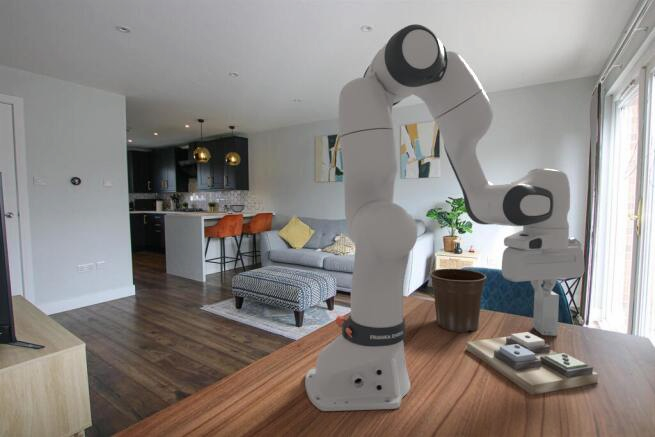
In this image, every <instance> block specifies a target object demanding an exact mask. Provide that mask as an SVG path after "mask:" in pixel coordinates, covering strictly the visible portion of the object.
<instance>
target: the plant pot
mask: <svg viewBox="0 0 655 437" xmlns="http://www.w3.org/2000/svg"><path fill="white" fill-rule="evenodd" d="M429 276H430V277H431V278H430V279H431V286H432V287H433V297H434V307H435V316H436V317H435V319H436V324H437V325H438V326H440V327H441V328H442V329H445V330H448V331H452V332H457V333H458V332H459V333H460V332H461V333H467V332H468V331H470V332H474V331H476V330H478V328H479V325H480V314H481V305H482V303H481V302H482V297H483V296H482V295H483V291H484V287H485V281H486V280H487V275H486V274H484V273H483V272H480V271H476V270H471V269H464V268H463V269H462V268H438V269H433V270H431V271H429Z"/></svg>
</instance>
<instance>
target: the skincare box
mask: <svg viewBox="0 0 655 437" xmlns="http://www.w3.org/2000/svg"><path fill="white" fill-rule="evenodd" d="M533 297H534V298H533V299H534V300H533V321H532V322H533V323H532V325H533V326H532V327H533V328H534V329H535V330H536V331H537V332H538V333H540V335H542V336H551V337H552V336H553V337H557V336H558V333H559V332H558V331H559V330H558V327H559V326H558V325H559V303H560V302H559V300H560V295H559V294H558V293H556V292H554V291H553V290H552V291H551V297H550V298H537V297H535V292H534V295H533Z"/></svg>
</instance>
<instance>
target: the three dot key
mask: <svg viewBox="0 0 655 437" xmlns="http://www.w3.org/2000/svg"><path fill="white" fill-rule="evenodd" d="M560 353H561V354H555V355H548V356H546V358H547V359H549V360H551V361H552V362H554V363H556V364H558V365H560V366H562V367H564V368H565V369H567V370H569V369H575V368H581V367H586V364H587V363H585V362H583V361H581V360H579V359H578V358H576V357H573V356H571V355H569V354H568V353H565V352H560Z"/></svg>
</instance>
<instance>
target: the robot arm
mask: <svg viewBox="0 0 655 437" xmlns="http://www.w3.org/2000/svg"><path fill="white" fill-rule="evenodd" d="M411 96H415V97H418V98H419V99H420V100H422V101H423V102H424V104H425V105H426V106H427V108H428V111H429V113H430V114H431V117H432V118H433V120H434V122H435V123H436V126H437V128H438V130H439V132H440V135H441V138H442V141H443V145H444V150H445V154H446V157H447V159H448V162H449V164H450V166H451V168H452V169H451V170H453V173H454V175H455V178H456V181H457V183H458V184H459V187H460V189H461V191H462V195H463V201H464V208H465V211H466V214H467V216H468V217H469V218H470V219H471V221H473V222H474V223H475V224H479V225H496V226H506V227H507V226H508V227H522V230H520V231H517V232H516V233H514V234H511V235H508V236H506V237H504V239H503V245H504V246H505V249H504V250H503V252H502V258H501V275H502V276H503V278H504V279H505V280H508V281H511V282H514V283H517V282H518V283H520V282H530V284H531V286H532V288H533V290H534V293H535V297H537V298H550V297H551V291H553V289H554V288H555V286H556V284H557V280H559V279H574V278H575V279H576V278H581V277H583V275H584V273H585V256H584V252H583V249H582V243H581V242H580V241H579V240H578V239H577V238H576V237H575V238H574V237H571V238H570V237H569V236H570V235H569V234H570V233H569V231H570V225H569V221H568V214H569V211H570V208H571V189H570V181H569V178H568V175H567V173H565V172H563V171H562V170H560V169H554V168H535V169H531V170H529V171H528V173H527V174H526V175H524V176H522V177H521V178H519V179H518V180H515V181H513V182H511V183H505V184H495V183H492V182H490V181H489V180H488V179H487V177H486V175H485V172H484V170H483V168H482V165H481V162H480V160H479V158H478V155H477V146H478V143H479V142H480V141H481V139H483V137H484V136H485V135H486V133H487V132H488V131H489V130H490V127H491V125H492V122H493V116H494V111H493V108H492V104H491V102H490V99H489V97H488V95H487V93H486V91H485V89H483V86H482V84H481V83H480V81H479V79H478V77H477V76H476V74H475V73H474V71H473V70H472V68H471V67H470V66H469V65H468V64H467V63H466V61H465V60H464V59H463V58H462V56H461V55H460V54H458V53H457V52H455V51H449V50H448V51H447V49H446V47H445V45H444V44H443V43H442V42H441V40H440V38H439V37H438V36H437V35H436V33H434V32H433V31H432V30H431V29H429V28H428V27H426V26H424V25H422V24H417V23H416V24H410V25H407V26H405V27H403V28H401V29H399V30H397V31H396V32H395V33H394V34H393V35H392V36H390V38H389V40H388V41H387V43H386V44H384V46H383V47H382V48H381V49H379V50H378V52H377V53H376V54H375V55H374V57H373V59H372V60H371V62H370V64H369V65H368V67H367V68H366V70H365V72H364V74H363V77H358V78H355V79H352V80H350V81H348V82H347V83H346V84H344V86H343V87H342V88H341V90H340V92H339V98H338V134H339V144H340V150H341V152H340V153H341V158H342V159H341V160H342V168H343V170H342V171H343V181H344V182H343V184H344V186H343V187H344V188H343V191H344V214H345V215H344V216H345V227H346V228H345V229H346V233H347V236H348V237H349V239H350V240H351V242H352V243H354V247H355V251H354V262H353V270H352V276H351V279H350V314H349V316H348V318H346V319H345V317H344V316H342V315H338V316H336V318H335V323H336V325H337V326H338V327H339V328H341V334H339V336H337V338H335V339H334V340H333V341H331V342H329V343H328V344H327V345H326V346H325V347H324V348H322V349H320V351H319V353H318V355H317V358H316V364H315V367H314V368H310V369H309V370H308V371H307V373H306V374H305V380H304V387H305V392H306V394H307V395H306V396H307V397H308V399H309V401H310V402H311V403H312V405H314V406H315V407H316V408H317V409H318V410H320V411H322V412H336V411H337V412H338V411H339V412H341V411H366V410H367V411H371V410H394V409H399V408H400V406H401V404H402V400H403V397H404V396H405V397H406V395H407V394H408V393H409V392H410V389H411V386H412V385H411V380H410V377H409V373H408V369H407V364H406V356H405V345H404V344H405V341H406V319H405V317H404V284H405V276H406V272H407V267H408V262H409V258H410V254H411V251H412V250H413V249H414V247H415V245H416V243H417V239H418V227H417V226H418V225H417V223H416V221H415V219H414V217H413V216H412V215H411V214H410V213H409V212H408V211H407V210H406V209H405V208H403V207H402V206H401V205H399V204H397V203H394V194H395V193H394V192H395V181H396V176H397V173H398V161H397V153H396V152H397V151H396V143H395V142H396V141H395V134H394V133H395V132H394V122H393V118H392V117H393V116H392V113H393V111H392V110H393V107H394V106H395V105H397V104H400V102H401V101H403V100H404V99H406V98H410V97H411ZM542 285H543V287H542Z"/></svg>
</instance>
